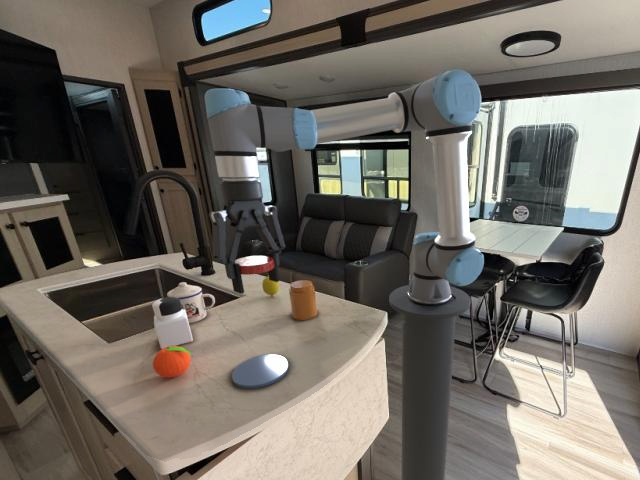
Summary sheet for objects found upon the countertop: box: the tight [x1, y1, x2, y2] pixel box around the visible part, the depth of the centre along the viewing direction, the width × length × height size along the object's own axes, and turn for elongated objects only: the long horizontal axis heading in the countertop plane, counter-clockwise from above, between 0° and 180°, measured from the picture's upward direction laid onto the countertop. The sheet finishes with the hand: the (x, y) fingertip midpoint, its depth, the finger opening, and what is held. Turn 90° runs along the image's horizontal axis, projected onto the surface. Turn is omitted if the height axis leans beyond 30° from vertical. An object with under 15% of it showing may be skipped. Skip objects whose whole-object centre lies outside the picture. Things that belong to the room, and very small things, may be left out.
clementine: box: [152, 345, 192, 378], centre depth 71 cm, size 8×7×7 cm
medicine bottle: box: [151, 296, 194, 350], centre depth 85 cm, size 7×7×12 cm
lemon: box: [261, 274, 280, 297], centre depth 115 cm, size 6×6×8 cm
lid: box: [235, 255, 275, 276], centre depth 70 cm, size 8×8×2 cm
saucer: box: [231, 353, 289, 390], centre depth 73 cm, size 12×12×1 cm
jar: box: [288, 279, 318, 321], centre depth 100 cm, size 8×8×11 cm
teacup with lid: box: [166, 281, 216, 324], centre depth 98 cm, size 12×9×12 cm
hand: (257, 285), depth 71 cm, fingers closed on lid, 8 cm apart
